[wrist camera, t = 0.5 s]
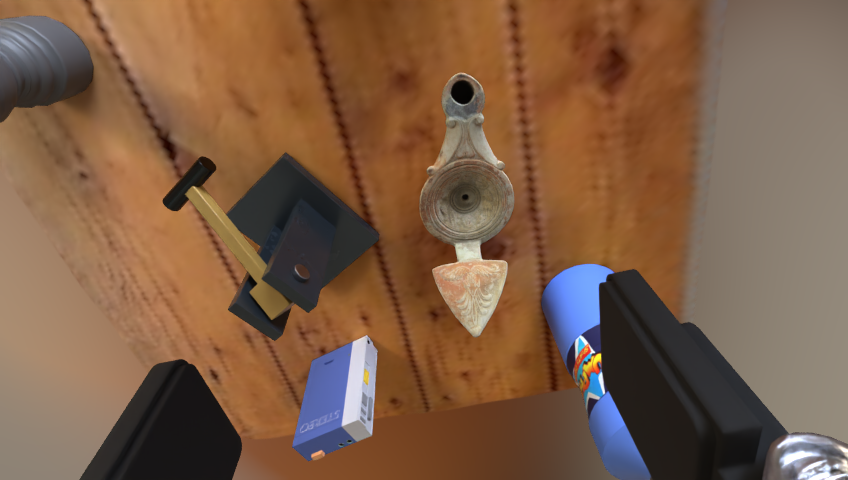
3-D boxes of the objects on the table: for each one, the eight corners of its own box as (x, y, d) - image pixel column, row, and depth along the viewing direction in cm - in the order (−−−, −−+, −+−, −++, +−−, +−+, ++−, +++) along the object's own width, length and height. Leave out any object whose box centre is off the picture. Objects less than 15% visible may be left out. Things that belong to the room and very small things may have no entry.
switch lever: (177, 195, 38) (153, 199, 36) (212, 155, 36) (190, 156, 34) (277, 319, 38) (260, 330, 36) (317, 284, 36) (302, 294, 34)
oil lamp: (424, 276, 50) (428, 341, 41) (409, 69, 39) (410, 98, 30) (504, 271, 50) (525, 334, 41) (511, 62, 39) (542, 88, 30)
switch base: (226, 212, 45) (166, 296, 34) (285, 151, 42) (241, 219, 31) (321, 284, 50) (296, 378, 38) (379, 233, 47) (372, 319, 35)
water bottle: (528, 322, 54) (613, 560, 32) (558, 256, 49) (679, 480, 27) (602, 334, 55) (730, 569, 33) (637, 270, 50) (812, 495, 29)
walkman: (325, 374, 56) (308, 465, 46) (311, 360, 55) (291, 450, 45) (380, 349, 55) (374, 438, 44) (367, 334, 54) (359, 422, 43)
